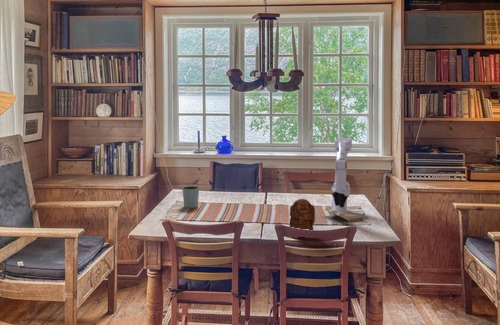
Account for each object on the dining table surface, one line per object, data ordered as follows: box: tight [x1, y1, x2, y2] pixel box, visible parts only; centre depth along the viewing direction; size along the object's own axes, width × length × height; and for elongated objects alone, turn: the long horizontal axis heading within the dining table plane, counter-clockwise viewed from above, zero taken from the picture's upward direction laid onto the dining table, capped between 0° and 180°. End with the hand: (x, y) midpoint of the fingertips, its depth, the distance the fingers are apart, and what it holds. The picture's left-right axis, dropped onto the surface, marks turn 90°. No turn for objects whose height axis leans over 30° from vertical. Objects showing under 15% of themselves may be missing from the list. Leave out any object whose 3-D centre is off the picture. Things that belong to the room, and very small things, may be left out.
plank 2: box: [331, 210, 351, 221], centre depth 248 cm, size 7×8×2 cm
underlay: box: [321, 214, 365, 224], centre depth 253 cm, size 16×18×1 cm
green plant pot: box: [181, 185, 200, 209], centre depth 277 cm, size 10×10×12 cm
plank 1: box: [324, 206, 339, 217], centre depth 255 cm, size 7×8×2 cm
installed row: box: [340, 210, 364, 222], centre depth 255 cm, size 15×8×2 cm, turn 22°
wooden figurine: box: [288, 198, 316, 231], centre depth 220 cm, size 12×6×18 cm, turn 103°
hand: (339, 206), depth 247 cm, fingers open, 4 cm apart
